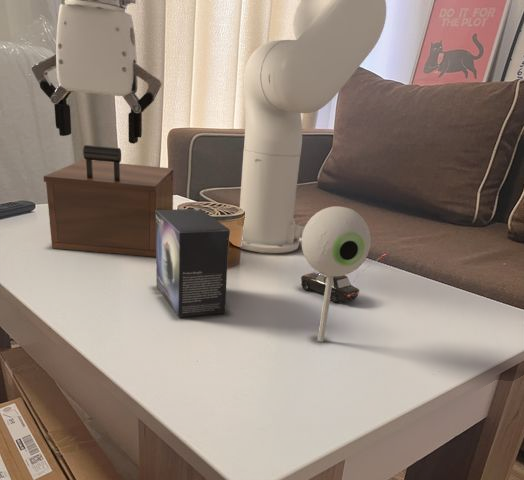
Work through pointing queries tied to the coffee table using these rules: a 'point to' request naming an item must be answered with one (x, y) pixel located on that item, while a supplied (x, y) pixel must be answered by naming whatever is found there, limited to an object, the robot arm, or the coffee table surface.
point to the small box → (191, 261)
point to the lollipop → (335, 247)
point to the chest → (106, 217)
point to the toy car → (339, 286)
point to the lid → (110, 172)
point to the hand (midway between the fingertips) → (99, 138)
